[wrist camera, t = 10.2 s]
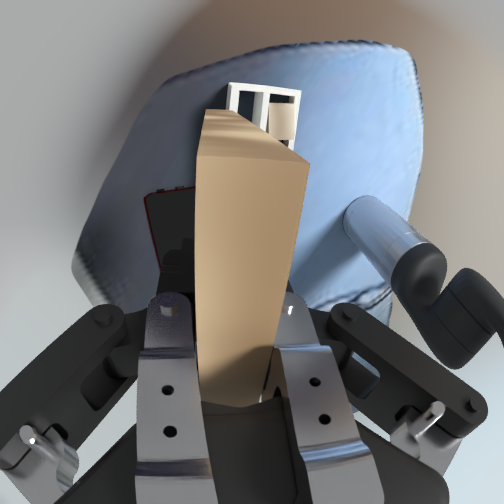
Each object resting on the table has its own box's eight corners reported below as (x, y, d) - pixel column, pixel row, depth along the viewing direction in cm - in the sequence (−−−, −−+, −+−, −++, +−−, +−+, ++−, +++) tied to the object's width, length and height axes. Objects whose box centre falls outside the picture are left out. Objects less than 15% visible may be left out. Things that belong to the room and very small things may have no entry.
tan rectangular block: (232, 110, 18) (310, 163, 4) (221, 248, 24) (247, 442, 10) (206, 109, 18) (197, 156, 4) (200, 247, 23) (205, 444, 10)
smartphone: (218, 182, 43) (232, 305, 56) (218, 179, 44) (232, 300, 57) (141, 193, 42) (172, 312, 55) (143, 190, 43) (172, 307, 56)
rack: (295, 90, 38) (310, 91, 32) (282, 181, 45) (294, 197, 39) (228, 83, 36) (232, 81, 30) (220, 178, 43) (222, 193, 38)
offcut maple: (288, 103, 36) (294, 104, 33) (288, 136, 39) (294, 139, 36) (264, 103, 36) (268, 103, 33) (265, 136, 38) (269, 140, 36)
